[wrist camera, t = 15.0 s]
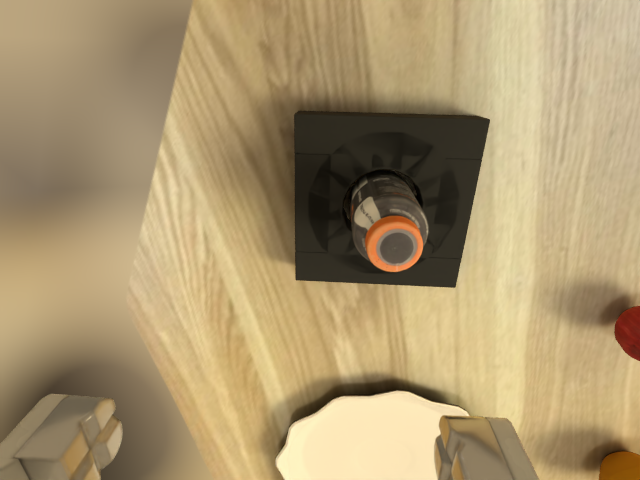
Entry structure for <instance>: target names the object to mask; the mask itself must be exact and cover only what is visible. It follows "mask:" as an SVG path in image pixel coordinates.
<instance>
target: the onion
mask: <svg viewBox="0 0 640 480" xmlns="http://www.w3.org/2000/svg"><path fill="white" fill-rule="evenodd" d="M614 333H615V338H616V340H617V341H618V343H619V344H620V346H621V347H622V348H623V350H624V351H625V352H626V353H627V354H628V355H629V356H631V357H632V358H634V359H636V360H638V361H640V306H636V307H632V308H630V309H627V310H626V311H624V312H623V313H622V314H621V315H620V316H619V318H618V319H617V321H616V323H615V331H614Z"/></svg>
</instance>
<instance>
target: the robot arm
mask: <svg viewBox="0 0 640 480" xmlns="http://www.w3.org/2000/svg"><path fill="white" fill-rule="evenodd" d="M115 409H116V407H115V404H114V401H113V399H109V398H97V397H85V396H73V395H58V394H49V395H48V396H46V397H44V398H43V399H41V400H40V401H39V402H38V404H37V405H36V406H35V407H34V408H33V409H32V410H31V411H30V412H29V413H28V414H27V416H26V417H25V418H24V419H23V420H22V421H21V422H20V423H19V424H18V425H17V427H15V429H14V430H13V431H12V432H11V433H10V434H9V435H8V436H7V437H6V439H5V440H4V441H3V442H2V443H1V444H0V480H101V478H100V470H101V469H103V468H104V467H105V466H107V465H108V464H109V463H111V462H112V460H113V458H114V457H115V455H116V453H117V451H118V449H119V445H120V443H121V439H122V425H121V422H120V420H119V419H118V418H117V417H115V416H114V415H113V412H114V411H115ZM439 429H440V433H441V434H440V435H439V436H438V437H436V439H435V444H434V463H435V470H436V474H437V479H438V480H539V478H538V476H537V474H536V472H535V470H534V468H533V466H532V464H531V462H530V460H529V458H528V456H527V453H526V451H525V449H524V447H523V445H522V443H521V441H520V439H519V437H518V435H517V433H516V431H515V429H514V427H513V425H512V423H511V422H510V421H509V420H508V419H507V418H489V417H485V418H484V417H478V416H452V415H443V416H442V417H441V418H440V421H439Z"/></svg>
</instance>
